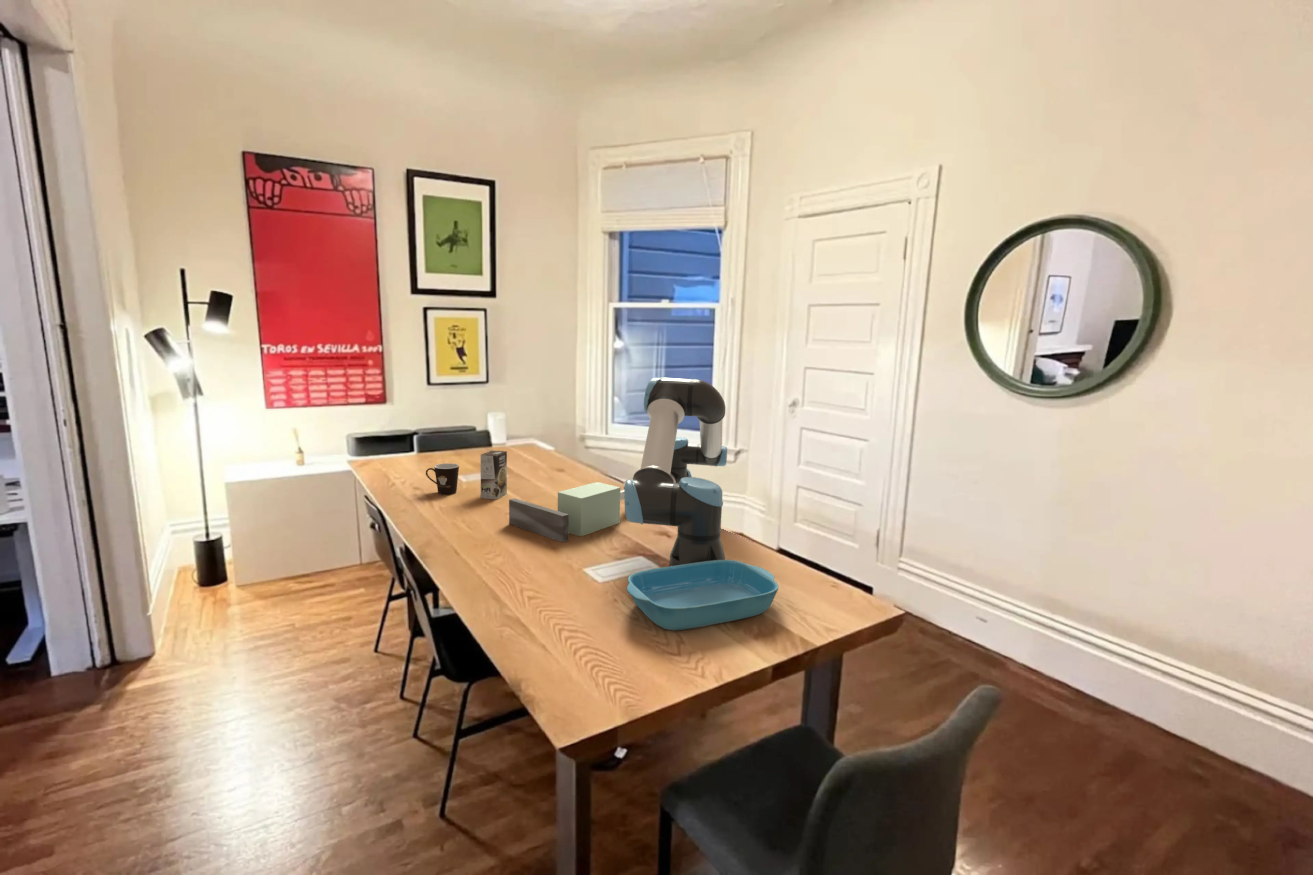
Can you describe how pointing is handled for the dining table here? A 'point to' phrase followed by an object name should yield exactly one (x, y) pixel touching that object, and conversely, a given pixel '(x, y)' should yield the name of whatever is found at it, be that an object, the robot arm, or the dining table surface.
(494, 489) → the coffee box
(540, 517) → the charcoal board
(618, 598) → the dining table surface
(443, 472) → the coffee mug
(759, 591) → the casserole dish
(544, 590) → the dining table surface
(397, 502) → the dining table surface
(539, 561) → the dining table surface
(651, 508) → the robot arm
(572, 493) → the sage block
